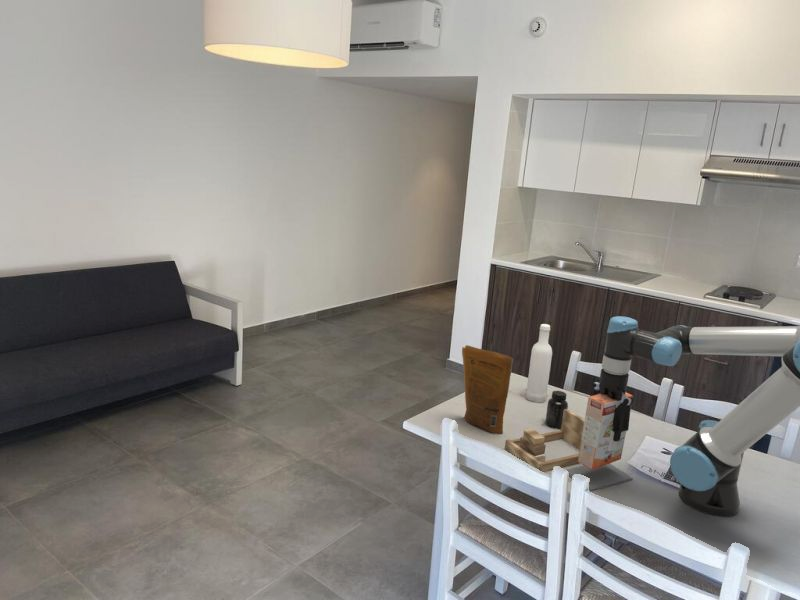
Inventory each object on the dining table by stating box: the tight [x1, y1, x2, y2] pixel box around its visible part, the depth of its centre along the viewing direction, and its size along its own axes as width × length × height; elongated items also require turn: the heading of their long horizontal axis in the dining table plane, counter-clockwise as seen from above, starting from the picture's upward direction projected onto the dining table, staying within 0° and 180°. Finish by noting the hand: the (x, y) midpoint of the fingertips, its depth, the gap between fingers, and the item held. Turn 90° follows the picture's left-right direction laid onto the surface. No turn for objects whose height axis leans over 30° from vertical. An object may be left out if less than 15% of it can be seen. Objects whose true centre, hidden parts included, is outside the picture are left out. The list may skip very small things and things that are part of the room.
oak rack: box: [504, 409, 585, 473], centre depth 187 cm, size 16×24×10 cm, turn 118°
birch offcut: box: [519, 446, 546, 462], centre depth 185 cm, size 8×4×3 cm, turn 27°
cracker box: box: [578, 391, 634, 470], centre depth 173 cm, size 14×6×21 cm, turn 126°
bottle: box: [525, 323, 553, 404], centre depth 228 cm, size 8×8×30 cm
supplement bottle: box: [545, 390, 569, 430], centre depth 208 cm, size 7×7×12 cm
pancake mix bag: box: [461, 344, 514, 435], centre depth 201 cm, size 7×19×28 cm, turn 46°
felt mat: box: [566, 463, 634, 492], centre depth 177 cm, size 11×17×1 cm, turn 118°
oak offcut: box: [522, 428, 545, 446], centre depth 183 cm, size 6×4×2 cm, turn 22°
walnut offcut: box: [519, 436, 546, 456], centre depth 184 cm, size 7×4×3 cm, turn 32°
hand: (602, 444), depth 174 cm, fingers closed on cracker box, 6 cm apart
